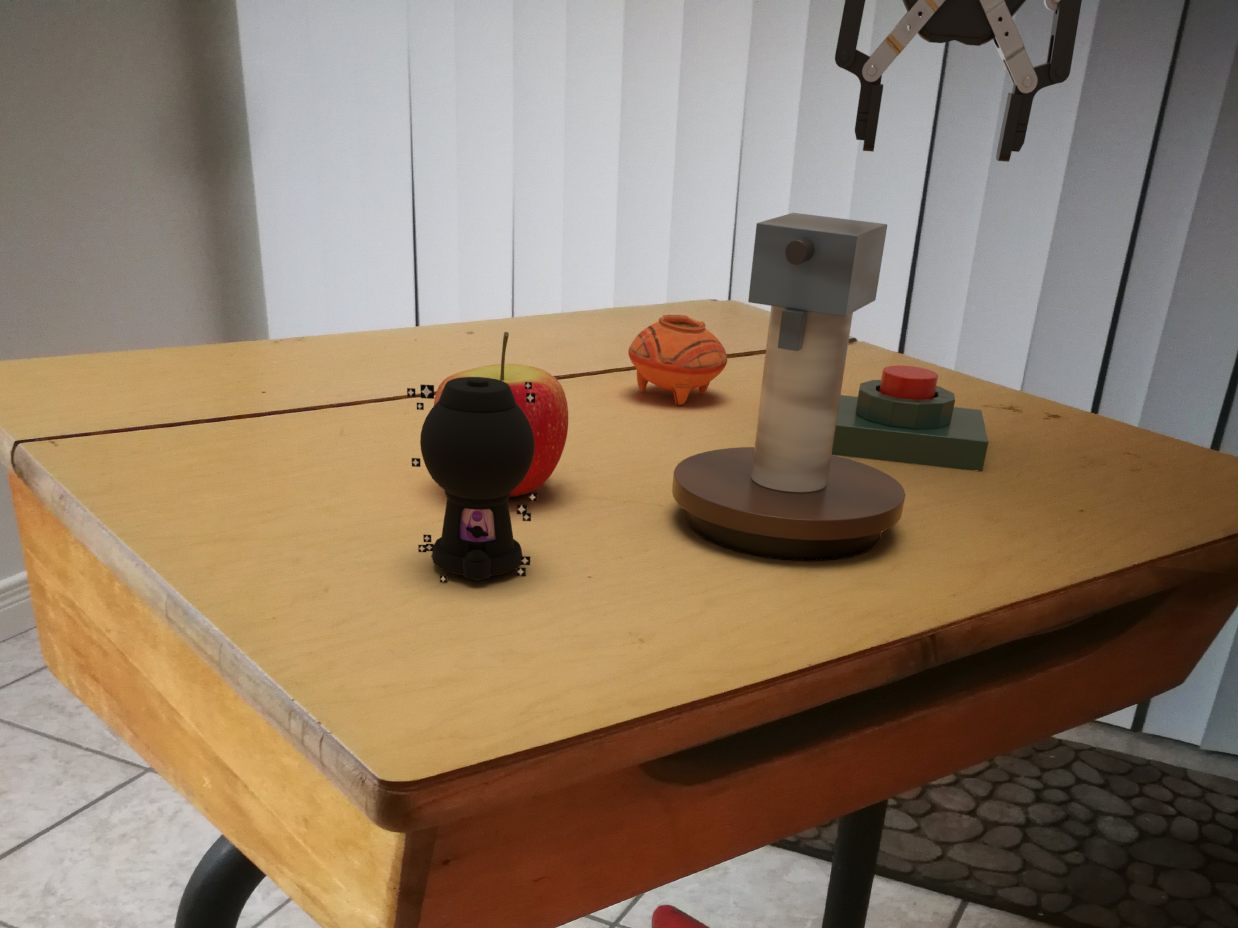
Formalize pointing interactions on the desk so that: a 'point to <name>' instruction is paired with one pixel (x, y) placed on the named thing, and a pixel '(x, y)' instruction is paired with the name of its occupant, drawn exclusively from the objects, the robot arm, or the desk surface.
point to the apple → (531, 413)
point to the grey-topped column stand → (800, 394)
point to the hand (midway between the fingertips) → (934, 155)
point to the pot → (677, 356)
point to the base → (781, 543)
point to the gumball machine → (477, 473)
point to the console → (910, 429)
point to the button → (908, 382)
